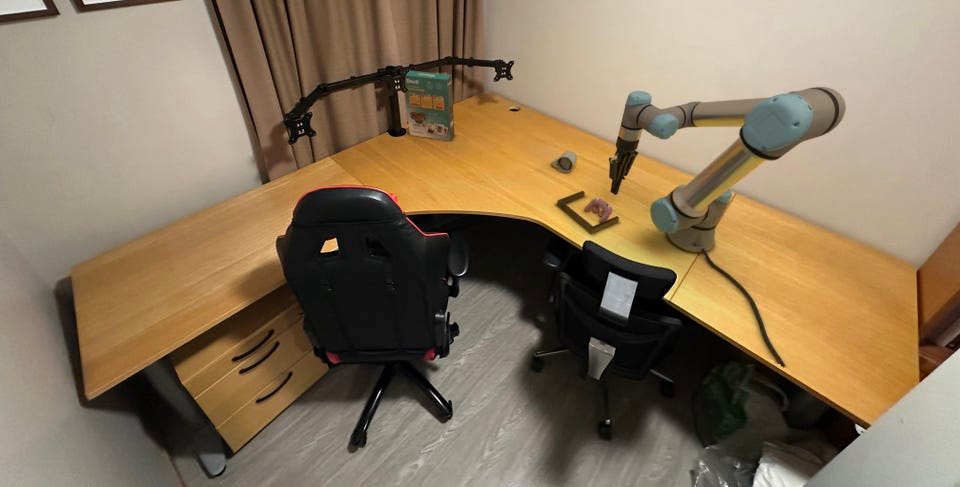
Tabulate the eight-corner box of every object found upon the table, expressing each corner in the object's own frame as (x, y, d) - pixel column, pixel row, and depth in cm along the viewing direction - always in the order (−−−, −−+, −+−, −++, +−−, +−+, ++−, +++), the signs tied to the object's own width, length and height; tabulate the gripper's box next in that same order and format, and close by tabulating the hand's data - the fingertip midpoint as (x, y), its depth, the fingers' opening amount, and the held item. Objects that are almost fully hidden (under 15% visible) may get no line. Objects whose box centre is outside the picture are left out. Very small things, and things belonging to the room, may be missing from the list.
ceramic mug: (577, 165, 180) (579, 150, 175) (571, 174, 175) (573, 159, 170) (554, 160, 184) (556, 145, 179) (548, 168, 179) (550, 153, 173)
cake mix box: (454, 135, 202) (451, 75, 181) (450, 140, 197) (447, 79, 177) (414, 129, 206) (407, 70, 186) (410, 134, 202) (402, 74, 182)
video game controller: (607, 223, 152) (616, 207, 149) (601, 223, 149) (610, 207, 146) (588, 210, 158) (597, 195, 155) (582, 209, 155) (591, 194, 152)
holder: (617, 222, 150) (619, 217, 149) (591, 234, 145) (592, 229, 144) (581, 195, 163) (583, 190, 162) (556, 205, 158) (557, 200, 157)
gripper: (633, 128, 144) (618, 183, 160) (607, 137, 139) (594, 193, 155) (650, 137, 139) (633, 192, 155) (623, 146, 134) (608, 202, 150)
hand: (613, 192), depth 155 cm, fingers closed
